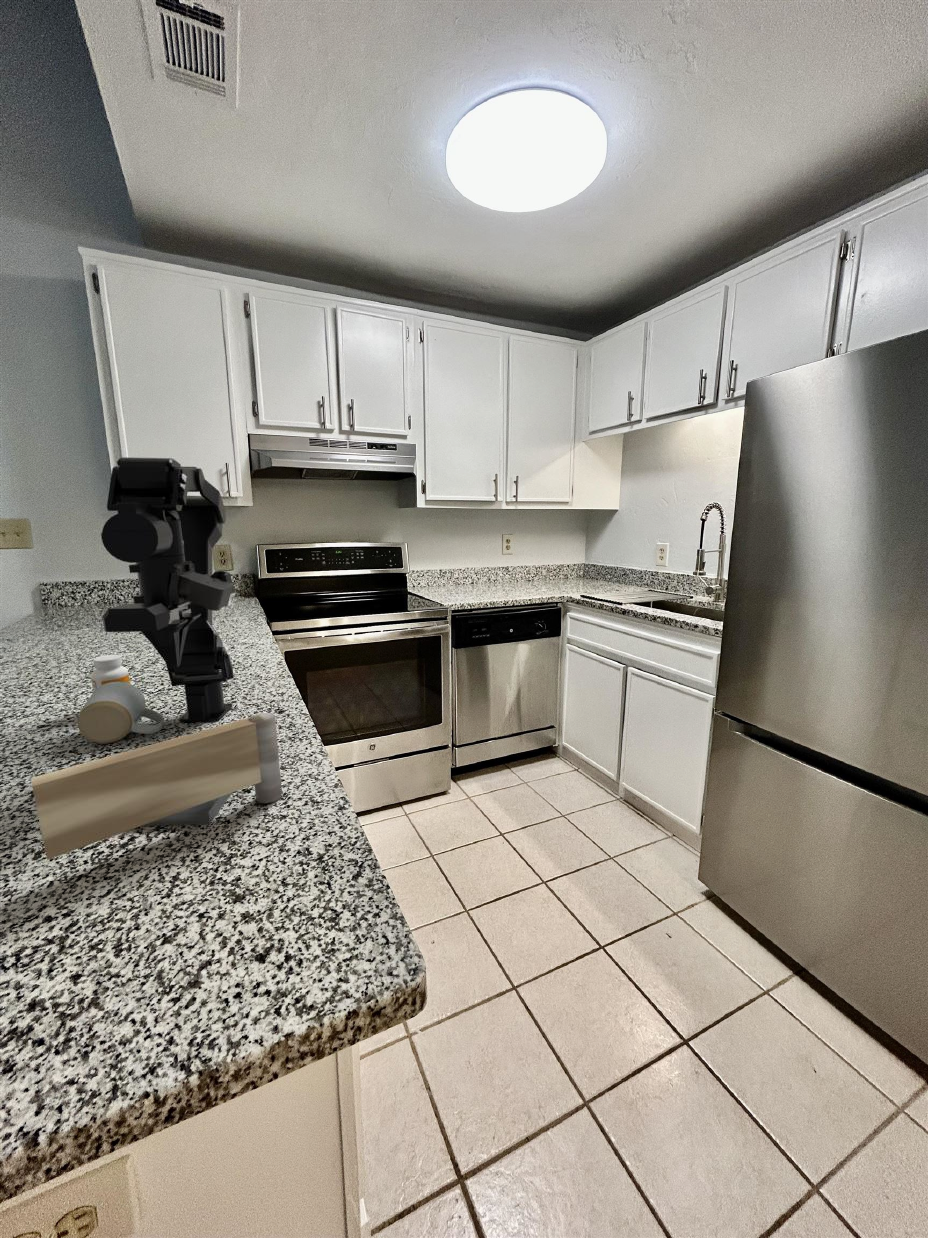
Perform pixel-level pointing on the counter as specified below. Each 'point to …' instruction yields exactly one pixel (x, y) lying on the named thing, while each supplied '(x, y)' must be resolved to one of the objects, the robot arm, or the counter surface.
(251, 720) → the swing bar
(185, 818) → the panel
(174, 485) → the robot arm
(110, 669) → the supplement bottle
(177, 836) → the counter surface
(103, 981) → the counter surface
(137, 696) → the ceramic mug
